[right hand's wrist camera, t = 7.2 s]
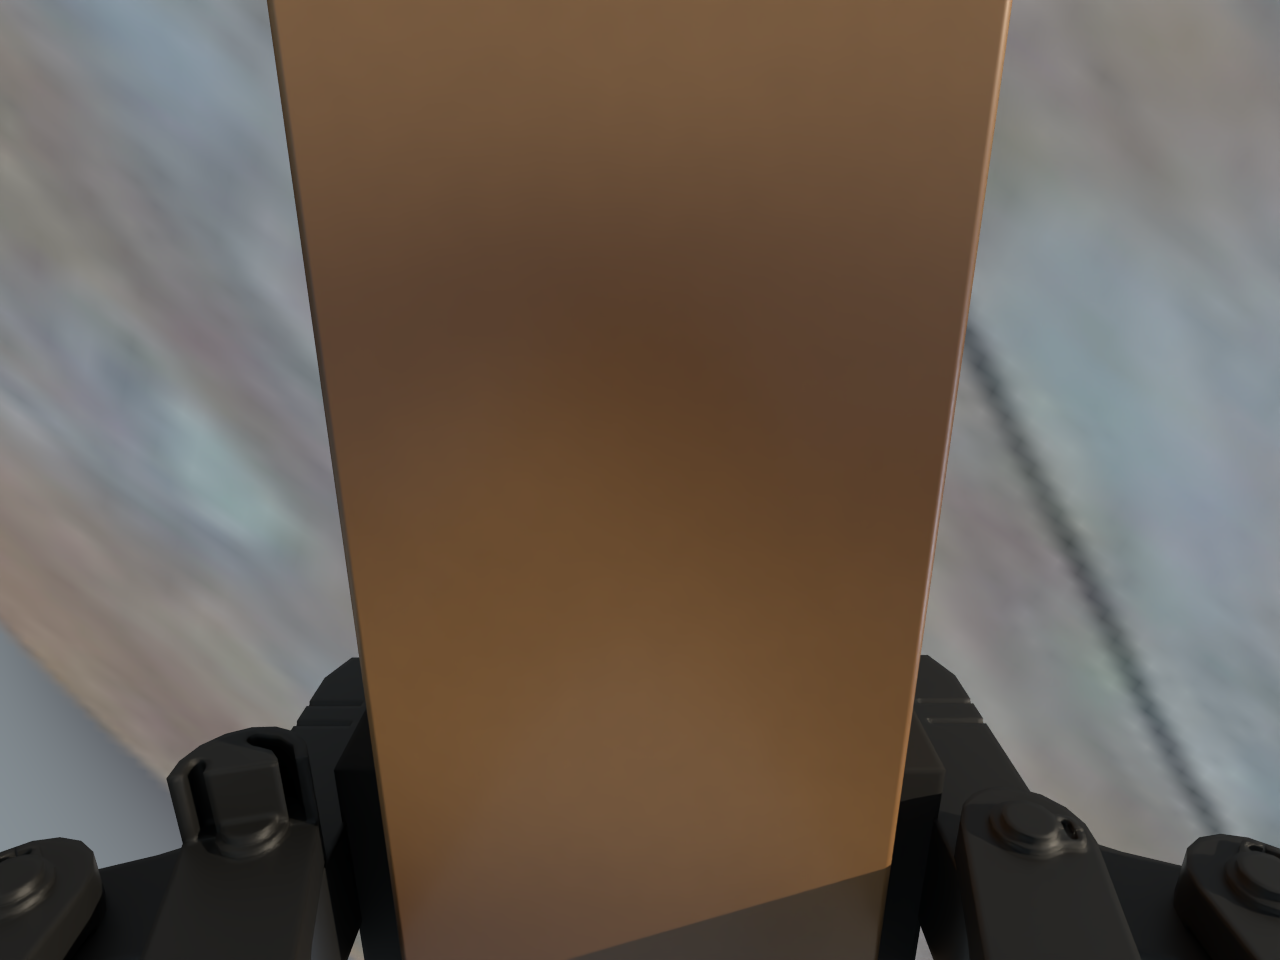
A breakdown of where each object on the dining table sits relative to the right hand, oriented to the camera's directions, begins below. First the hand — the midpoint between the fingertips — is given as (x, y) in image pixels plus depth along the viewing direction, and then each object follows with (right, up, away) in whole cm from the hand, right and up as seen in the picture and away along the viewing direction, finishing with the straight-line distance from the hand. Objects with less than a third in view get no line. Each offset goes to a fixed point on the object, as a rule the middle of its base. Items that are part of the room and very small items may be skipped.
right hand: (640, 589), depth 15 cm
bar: (0, +9, -3) cm, 9 cm away
